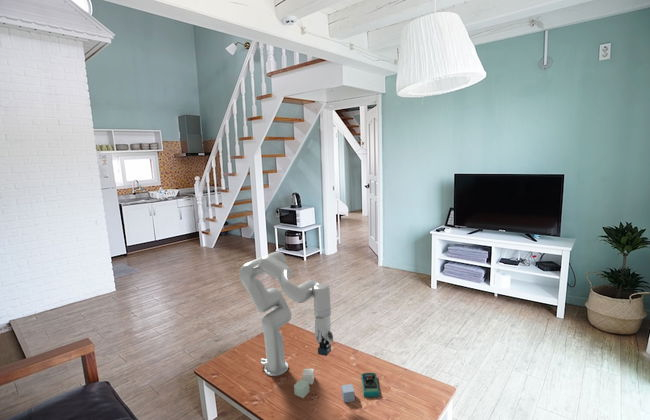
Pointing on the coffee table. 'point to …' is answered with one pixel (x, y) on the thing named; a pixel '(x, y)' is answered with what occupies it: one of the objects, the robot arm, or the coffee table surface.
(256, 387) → the coffee table surface
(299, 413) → the coffee table surface
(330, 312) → the robot arm
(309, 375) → the cream cube
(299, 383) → the sage cube
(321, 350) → the watch
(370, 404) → the coffee table surface
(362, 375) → the digital multimeter
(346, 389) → the slate cube
